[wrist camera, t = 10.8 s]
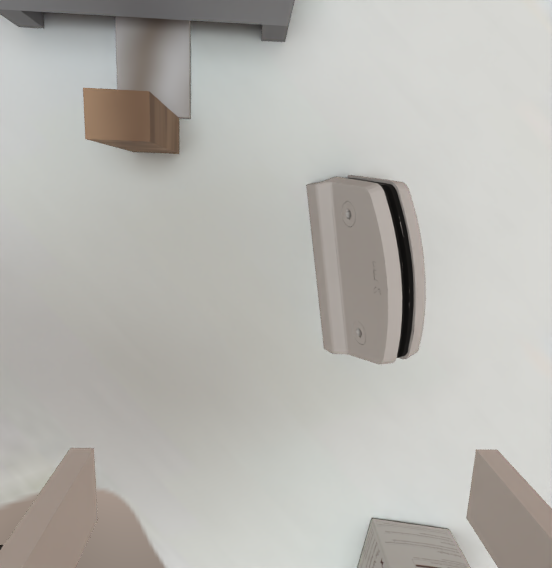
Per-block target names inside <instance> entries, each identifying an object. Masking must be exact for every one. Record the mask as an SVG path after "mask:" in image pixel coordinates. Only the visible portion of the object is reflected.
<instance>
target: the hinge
mask: <svg viewBox="0 0 552 568" xmlns="http://www.w3.org/2000/svg"><path fill="white" fill-rule="evenodd" d="M348 177H349V178H341V177H333V178H331V179H328V180H325V181H322V182H319V183H311V184H308V185H306V186H307V195H308V205H309V214H310V223H311V232H312V242H313V251H314V260H315V269H316V279H317V288H318V297H319V306H320V316H321V325H322V334H323V343H324V349H326V350H327V351H329V352H331V353H334V354H349V355H352V356H355V357H358V358H361V359H364V360H367V361H370V362H373V363H376V364H387V363H393V362H395V360H396V358H401V359H407V358H408V357H410V356H411V355H413V354H415V353H416V352H417V351H418V349H419V345H420V341H421V336H422V331H423V324H424V315H425V300H426V293H425V267H424V256H423V248H422V242H421V235H420V230H419V225H418V220H417V216H416V212H415V208H414V205H413V201H412V198H411V195H410V191H409V188H408V187H407V185H406V184H405V183H403V182H397V181H390V180H383V179H376V178H368V177H361V176H353V175H348Z"/></svg>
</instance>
